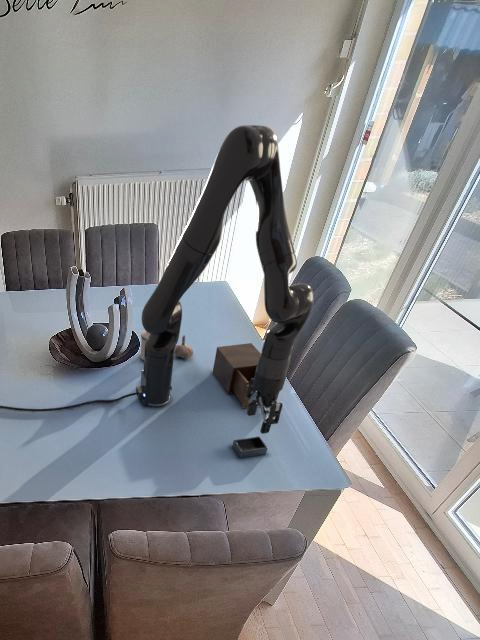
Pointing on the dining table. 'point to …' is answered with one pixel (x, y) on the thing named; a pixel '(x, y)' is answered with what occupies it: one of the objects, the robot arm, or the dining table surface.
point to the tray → (249, 447)
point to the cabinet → (233, 362)
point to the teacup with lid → (143, 342)
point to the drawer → (243, 384)
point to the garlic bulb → (183, 350)
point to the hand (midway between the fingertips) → (257, 423)
